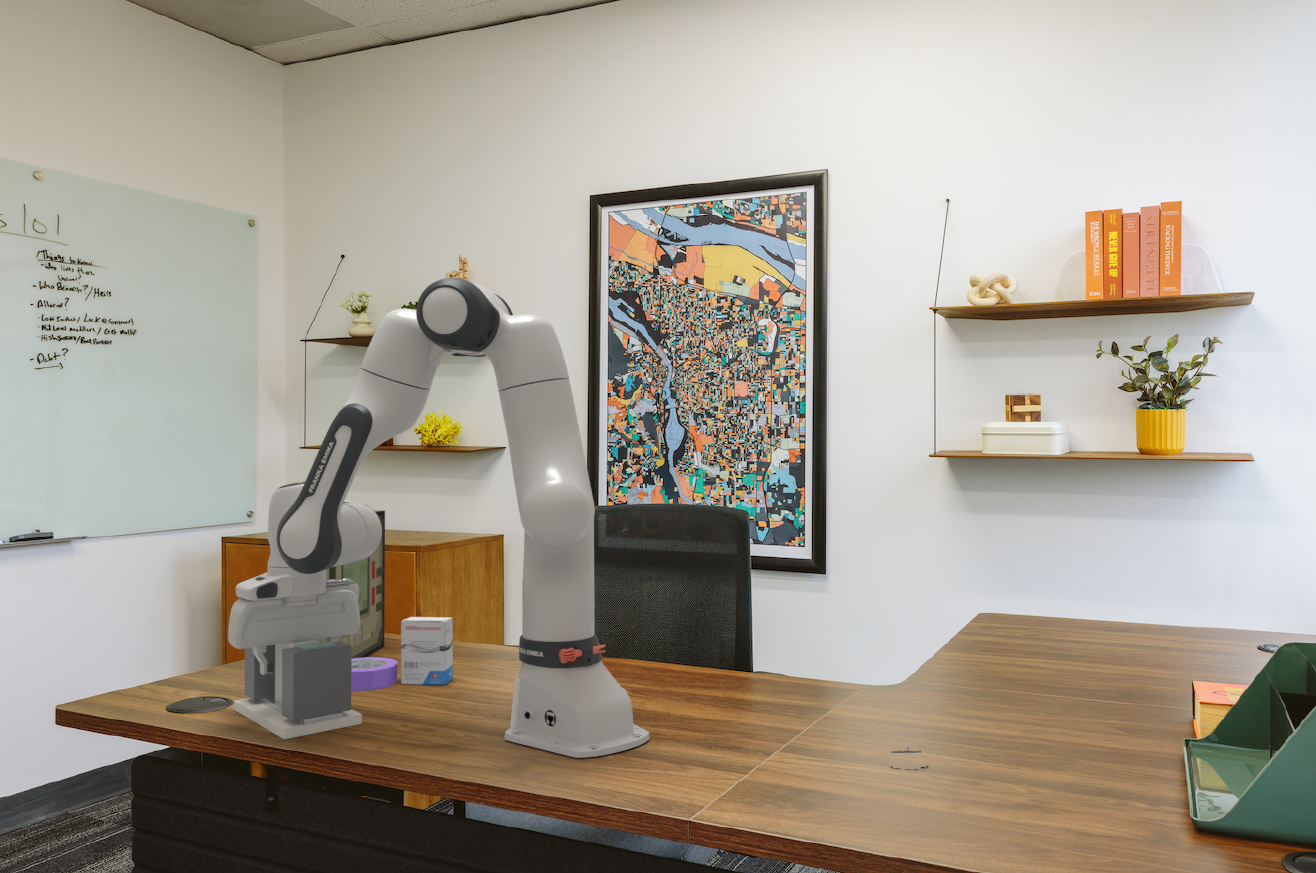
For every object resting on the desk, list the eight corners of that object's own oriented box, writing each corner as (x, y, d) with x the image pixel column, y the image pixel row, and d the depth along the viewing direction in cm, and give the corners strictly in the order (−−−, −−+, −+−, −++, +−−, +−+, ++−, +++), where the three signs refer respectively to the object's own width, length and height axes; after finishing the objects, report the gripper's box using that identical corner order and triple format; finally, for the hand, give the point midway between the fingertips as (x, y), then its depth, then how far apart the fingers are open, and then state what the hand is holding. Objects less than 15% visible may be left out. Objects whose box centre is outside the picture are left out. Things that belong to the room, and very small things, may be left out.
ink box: (453, 679, 175) (454, 616, 175) (445, 685, 170) (445, 620, 170) (409, 678, 176) (410, 615, 176) (399, 684, 171) (400, 620, 171)
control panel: (333, 678, 176) (334, 519, 176) (294, 678, 176) (295, 519, 176) (384, 646, 206) (384, 510, 206) (350, 646, 206) (351, 510, 206)
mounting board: (361, 723, 145) (361, 714, 145) (284, 739, 137) (284, 729, 137) (306, 697, 161) (306, 688, 161) (233, 709, 153) (234, 700, 153)
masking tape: (410, 683, 173) (410, 662, 173) (354, 695, 164) (354, 673, 164) (373, 674, 180) (373, 654, 180) (318, 685, 171) (318, 664, 171)
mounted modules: (351, 710, 145) (351, 643, 145) (293, 721, 139) (293, 651, 139) (298, 685, 160) (299, 625, 160) (244, 694, 154) (245, 632, 154)
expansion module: (299, 695, 154) (299, 633, 154) (319, 704, 148) (319, 640, 148) (274, 699, 151) (275, 636, 151) (293, 709, 145) (294, 643, 145)
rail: (343, 717, 143) (343, 712, 143) (304, 725, 139) (304, 719, 139) (288, 691, 159) (289, 686, 159) (252, 697, 155) (252, 692, 155)
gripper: (350, 575, 159) (350, 656, 159) (224, 586, 145) (224, 675, 145) (367, 578, 154) (366, 662, 154) (238, 590, 141) (237, 682, 140)
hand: (296, 669), depth 149 cm, fingers open, 8 cm apart
